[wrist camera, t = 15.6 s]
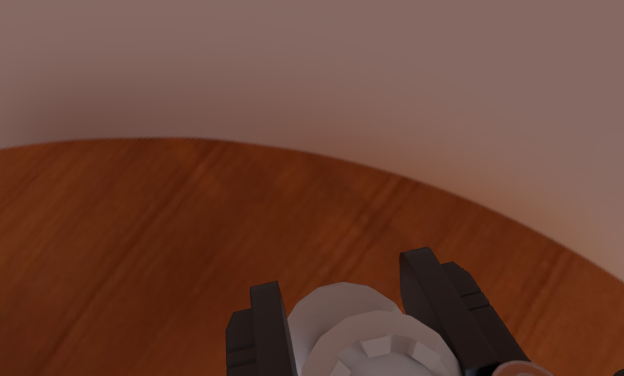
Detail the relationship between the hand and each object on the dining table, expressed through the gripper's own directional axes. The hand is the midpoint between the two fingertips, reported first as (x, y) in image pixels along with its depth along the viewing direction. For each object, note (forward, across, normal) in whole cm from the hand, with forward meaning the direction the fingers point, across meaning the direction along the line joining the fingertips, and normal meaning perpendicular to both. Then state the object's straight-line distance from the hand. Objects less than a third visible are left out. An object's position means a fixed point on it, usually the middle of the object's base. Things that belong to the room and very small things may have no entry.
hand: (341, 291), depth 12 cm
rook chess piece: (+2, 0, +4) cm, 5 cm away
